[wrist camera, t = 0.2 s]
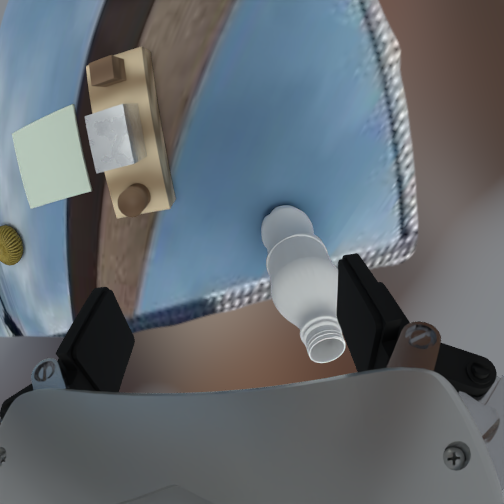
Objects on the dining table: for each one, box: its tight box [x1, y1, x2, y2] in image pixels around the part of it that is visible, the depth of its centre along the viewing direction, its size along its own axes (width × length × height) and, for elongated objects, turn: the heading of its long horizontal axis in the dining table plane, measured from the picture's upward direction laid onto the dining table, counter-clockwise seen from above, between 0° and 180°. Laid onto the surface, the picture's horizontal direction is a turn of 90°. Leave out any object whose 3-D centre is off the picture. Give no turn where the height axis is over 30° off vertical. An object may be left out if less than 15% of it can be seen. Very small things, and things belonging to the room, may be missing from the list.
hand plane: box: [86, 47, 176, 218], centre depth 32 cm, size 22×8×8 cm, turn 7°
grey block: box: [85, 104, 147, 173], centre depth 30 cm, size 7×5×5 cm
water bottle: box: [261, 205, 345, 363], centre depth 32 cm, size 7×7×25 cm
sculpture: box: [0, 225, 23, 265], centre depth 40 cm, size 8×4×8 cm
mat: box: [12, 104, 92, 209], centre depth 35 cm, size 14×14×1 cm
